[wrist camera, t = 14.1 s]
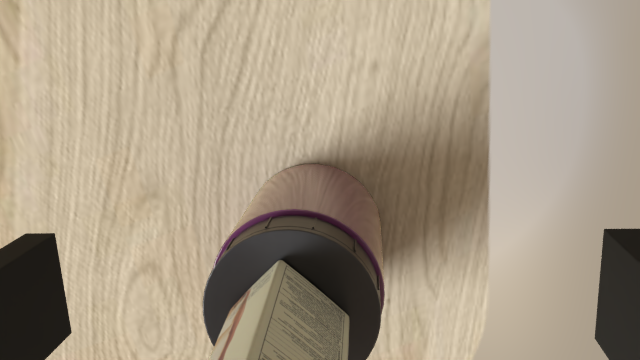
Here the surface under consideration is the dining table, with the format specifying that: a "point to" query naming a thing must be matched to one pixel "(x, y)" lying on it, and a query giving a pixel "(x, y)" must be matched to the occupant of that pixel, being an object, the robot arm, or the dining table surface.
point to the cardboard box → (283, 322)
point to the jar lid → (309, 261)
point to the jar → (319, 207)
